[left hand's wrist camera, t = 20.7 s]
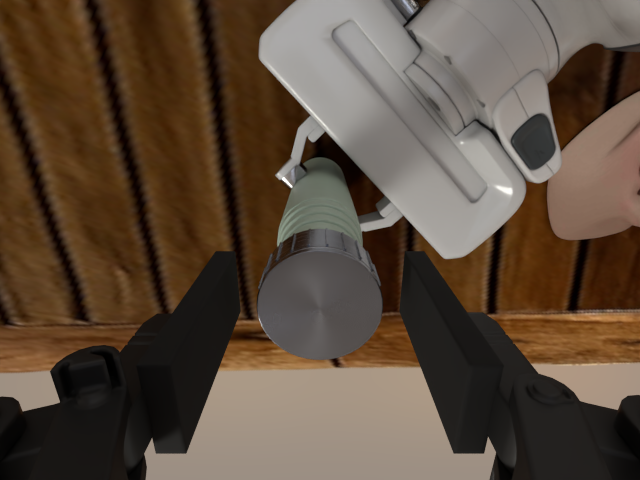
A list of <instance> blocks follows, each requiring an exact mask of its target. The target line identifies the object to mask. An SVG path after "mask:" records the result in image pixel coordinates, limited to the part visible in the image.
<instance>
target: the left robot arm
mask: <svg viewBox="0 0 640 480" xmlns="http://www.w3.org/2000/svg"><path fill="white" fill-rule="evenodd" d="M239 314H240V300H239V289H238V278H237V268H236V257H235V251H216V252H215V253H214V255H213V256H212V258H211V259H210V260H209V262H208V263H207V265H206V266H205V268H204V269H203V270H202V272H201V273H200V275H199V276H198V278H197V279H196V280H195V282H194V283H193V285H192V286H191V288H190V289H189V290H188V292H187V293H186V295H185V296H184V298H183V299H182V300H181V302H180V303H179V305H178V306H177V308H176V309H175V310H174V312H173V313H172V314H156V315H155V316H153V317H152V318H150V319H149V320H147V321H146V322H144V323H143V324H142V326H141V327H140V328H139V329H138V331H137V332H136V333H135V336H133V337H132V338H131V339H130V341H129V342H128V345H126V346H125V347H124V348H123V349H122V351H121V352H120V353H119V351H118V350H117V349H116V348H114V347H111V346H106V345H101V346H92V347H88V348H84V349H81V350H78V351H76V352H74V353H72V354H70V355H68V356H66V357H65V358H63V359H62V360H60V361H59V362H58V363H56V365H55V366H54V367H53V368H52V370H51V371H50V373H51V376H52V379H53V382H54V385H55V388H56V391H57V394H58V397H59V400H60V403H57V404H54V405H50V406H45V407H41V408H37V409H32V410H28V411H24V412H22V409H21V406H20V404H19V402H18V401H17V400H16V399H14V398H12V397H0V480H145V479H146V469H147V466H146V460H145V456H144V453H145V451H146V449H147V447H148V445H149V443H150V441H151V438H153V443H154V447H155V451H156V453H187V450H188V447H189V445H190V442H191V439H192V437H193V434H194V432H195V429H196V426H197V424H198V421H199V419H200V416H201V413H202V411H203V408H204V406H205V403H206V400H207V398H208V395H209V392H210V390H211V387H212V385H213V382H214V379H215V377H216V374H217V371H218V369H219V366H220V364H221V361H222V358H223V356H224V353H225V350H226V348H227V345H228V343H229V340H230V337H231V335H232V332H233V329H234V327H235V324H236V322H237V319H238V316H239ZM400 314H401V316H402V319H403V322H404V324H405V327H406V329H407V332H408V335H409V337H410V340H411V343H412V345H413V348H414V350H415V353H416V356H417V358H418V361H419V364H420V366H421V369H422V371H423V374H424V377H425V379H426V382H427V385H428V387H429V390H430V392H431V395H432V397H433V400H434V403H435V405H436V408H437V411H438V413H439V416H440V419H441V421H442V424H443V426H444V429H445V432H446V434H447V437H448V440H449V442H450V445H451V447H452V450H453V453H484V451H485V447H486V443H487V438H488V437H489V439H490V441H491V443H492V445H493V447H494V449H495V451H496V456H495V460H494V464H493V468H492V472H491V476H490V480H640V395H633V396H627V397H626V398H624V399H623V400H622V401H621V404H620V406H619V409H618V410H614V409H610V408H606V407H601V406H597V405H593V404H588V403H584V402H581V401H579V399H578V398H577V396H576V395H575V393H574V392H573V391H572V390H570V389H569V388H568V387H567V386H565V385H564V384H562V383H561V382H559V381H557V380H555V379H553V378H550V377H547V376H544V375H541V374H538V372H537V371H536V370H535V369H534V368H533V366H532V365H531V364H530V363H529V361H528V360H527V359H526V358H525V356H524V355H523V354H522V353H521V351H520V350H519V349H518V348H517V346H516V345H515V344H513V341H512V340H511V339H510V338H509V337H508V335H506V334H505V332H504V330H503V329H502V328H501V327H500V325H499V324H498V323H497V322H496V321H495V320H493V319H492V318H490V317H489V316H487V315H486V314H484V313H467V312H466V310H465V309H464V308H463V306H462V305H461V303H460V302H459V300H458V299H457V298H456V296H455V295H454V293H453V292H452V290H451V289H450V288H449V286H448V285H447V283H446V282H445V280H444V279H443V278H442V276H441V275H440V273H439V272H438V270H437V269H436V268H435V266H434V265H433V263H432V262H431V260H430V259H429V258H428V256H427V255H426V253H425V252H424V251H405V257H404V268H403V278H402V289H401V300H400Z"/></svg>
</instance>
